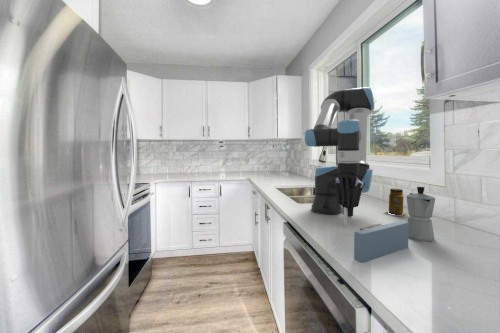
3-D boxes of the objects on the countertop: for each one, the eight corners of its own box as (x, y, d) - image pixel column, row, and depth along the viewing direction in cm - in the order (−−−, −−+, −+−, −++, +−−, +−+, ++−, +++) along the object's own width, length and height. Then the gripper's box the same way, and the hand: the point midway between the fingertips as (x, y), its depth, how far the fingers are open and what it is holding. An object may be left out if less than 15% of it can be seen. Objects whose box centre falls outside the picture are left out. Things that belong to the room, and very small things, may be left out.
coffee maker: (443, 244, 80) (445, 189, 79) (413, 243, 82) (415, 189, 80) (421, 230, 94) (422, 183, 93) (396, 229, 96) (397, 183, 95)
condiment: (405, 213, 120) (406, 189, 119) (400, 216, 114) (401, 191, 113) (389, 211, 125) (389, 187, 124) (383, 214, 119) (384, 189, 118)
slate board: (400, 244, 80) (400, 220, 80) (408, 247, 78) (408, 222, 77) (354, 259, 70) (354, 231, 69) (361, 262, 68) (362, 234, 67)
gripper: (327, 161, 95) (327, 221, 97) (356, 163, 84) (355, 230, 86) (341, 160, 99) (340, 218, 101) (370, 162, 87) (369, 227, 89)
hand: (347, 224), depth 93 cm, fingers closed
